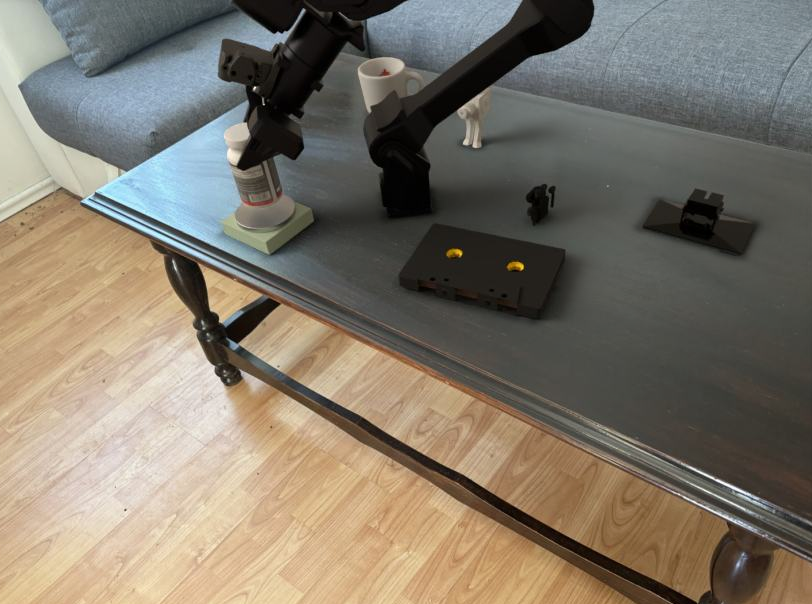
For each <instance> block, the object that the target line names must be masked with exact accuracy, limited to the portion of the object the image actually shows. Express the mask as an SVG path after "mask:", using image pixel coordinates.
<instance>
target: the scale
mask: <svg viewBox="0 0 812 604" xmlns="http://www.w3.org/2000/svg"><path fill="white" fill-rule="evenodd" d="M314 221H315V219H314V214H313V210H312V208H311V207H309V206H307V205H304V204H302V203H299V202H297V201H294V200H293V199H292V198H291V197H290V196H289V195H286V194H283V193H282V197H281V198H280V200H279V201H278V202H276V203H275V204H273V205H271V206H269V207H266V208H259V209H255V208H250V207H247V206H246V205H244V204H243V202H241V203H240V204H239V205H238V206H237V208H236V210H235V211H234V212H233V213H231V214H230V215H228V216H227V217H225V218H224V219H223V220H221V221H220V223H221V226H222V229H223V231H224V234H225V235H226V236H228V237H229V238H232V239H234V240H237V241H238V242H240V243H242V244H245V245H247V246H249V247H252V248H253V249H255V250H258V251H260V252H261V253H264V254H266V255H268V256H270V255H272V254H273V253H274V252H275V251H277V250H278V249H280V248H281V247H282V246H283V245H285V244H286V243H287V242H289V241H290V240H291V239H293V238H294V237H296V236H297V235H298V234H299V233H301V232H302V231H303V230H305V229H306V228H308V226H310V225H311V224H312V223H314Z"/></svg>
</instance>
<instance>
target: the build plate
mask: <svg viewBox="0 0 812 604" xmlns="http://www.w3.org/2000/svg"><path fill="white" fill-rule="evenodd" d="M707 194H708V190H705V189H700V188H694V189H693V191H692V193H691V194H690V195H689V196H688V198H687V199H686V202H684V204H680V203H676V202H673V201H670V200H666V199H659V200H658V201H657V202H656V204H655V205H654V207H653V208H652V210H651V212H650V213H649V215H648V216H647V218H646V219H645V221H644V223H643V224H642V226H641V228H642V229H643V230H647V231H650V232H654V233H657V234H661V235H664V236H668V237H672V238H675V239H679V240H683V241H686V242H690V243H693V244H696V245H700V246H703V247H707V248H711V249H715V250H718V251H719V252H721V253H725V254H727V255H732V256H741V255H742V253H743V251H744V249H745V247H746V244H747V242H748V241H749V238H750V236H751V234H752V231H753V229H754V227H755V225H756V224H755V223H754V222H751V221H748V220H744V219H739V218H736V217H731V216H728V215H724V214H722V212H724V210H725V207H724V206H725V201H723V200H724V197H725V195H724V194H720V193H716V192H711V193H710V195H709V197H708V198H705V197H706V196H707Z"/></svg>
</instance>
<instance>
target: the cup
mask: <svg viewBox="0 0 812 604" xmlns="http://www.w3.org/2000/svg"><path fill="white" fill-rule="evenodd" d="M357 74H358V78H359V83H360V87H361V92H362V95H363V99H364V103H365V108H366V110H367V113H368V114H369V113H370V112H371V109H370V106H372V105H375V104H378V103H379V102H381V101H382V100H383V99H384V98H385V97H386V96H387V95H388V94H389V93H390V92H392V91H393V90H396V92H397V94H398V96H399V98H402V97H407V96H411V95H414V94H415V93H411V92H410V90H409V88H408V83H409V81H411V80H415V81H416V82H417V84H418V90H417V92H416V93H418V92H419V91H420V90H422V89H423V88H424V87H425V83H424V79H423V77H422V75H421V74H420V73H418V72H416V71H412V70H411V71H410V70H407V67H406V63H405V62H404V61H403V60H402V59H399V58H396V57H391V56H383V57H375V58H371V59H369V60H366V61H364V62H363V63H361V64H360V65H359V67H358V68H357Z"/></svg>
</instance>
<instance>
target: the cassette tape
mask: <svg viewBox="0 0 812 604" xmlns="http://www.w3.org/2000/svg"><path fill="white" fill-rule="evenodd" d="M566 253H567V250H566V249H565V248H561V247H556V246H551V245H546V244H543V243H542V244H541V243H537V242H531V241H526V240H521V239H516V238H511V237H506V236H502V235H497V234H491V233H486V232H482V231H476V230H471V229H467V228H461V227H457V226H452V225H446V224H441V223H436V222H434V223H432V224H431V225H430V227H429V229H428V230H427V232H426V233H425V234H424V236H423V238H422V239H421V240H420V241H419V243H418V244H417V246H416V248H415V249H414V251H413V252H412V253H411V255H410V256H409V258H408V259H407V261H406V263H405V264H404V266H402V268H401V270H400V272H399V273H398V283H399V286H400V287H403V288H407V289H411V290H415V291H418V293H420V294H424V295H429V296H433V297H437V298H441V299H445V300H449V301H453V302H456V303H462V304H466V305H470V306H475V307H479V308H483V309H488V310H491V311H496V312H499V313H503V314H508V315H511V316H517V315H520V316H523V317H528V318H532V319H536V320H538V319H540V318H541V316H542V314H543V311H544V309H545V308H546V305H547V302H548V300H549V298H550V296H551V293H552V291H553V289H554V287H555V284H556V283H557V279H558V277H559V275H560V273H561V270H562V268H563V266H564V263H565V260H566ZM433 291H434V292H435V294H434V293H432V292H433ZM446 293H447V294H446ZM502 308H505V309H506V310H502Z"/></svg>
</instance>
